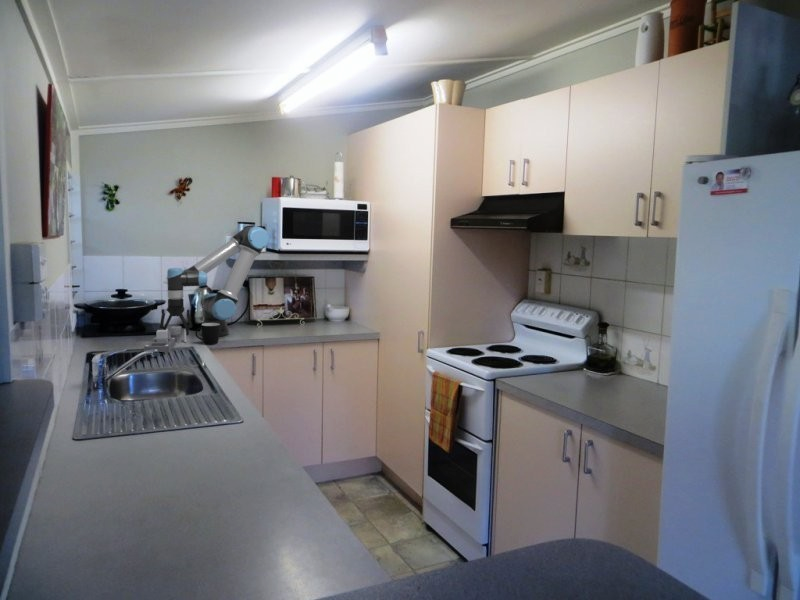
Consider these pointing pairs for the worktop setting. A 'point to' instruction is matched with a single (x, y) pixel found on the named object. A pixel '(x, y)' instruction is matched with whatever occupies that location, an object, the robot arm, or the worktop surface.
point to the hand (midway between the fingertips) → (176, 341)
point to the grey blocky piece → (161, 342)
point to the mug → (209, 333)
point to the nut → (176, 333)
